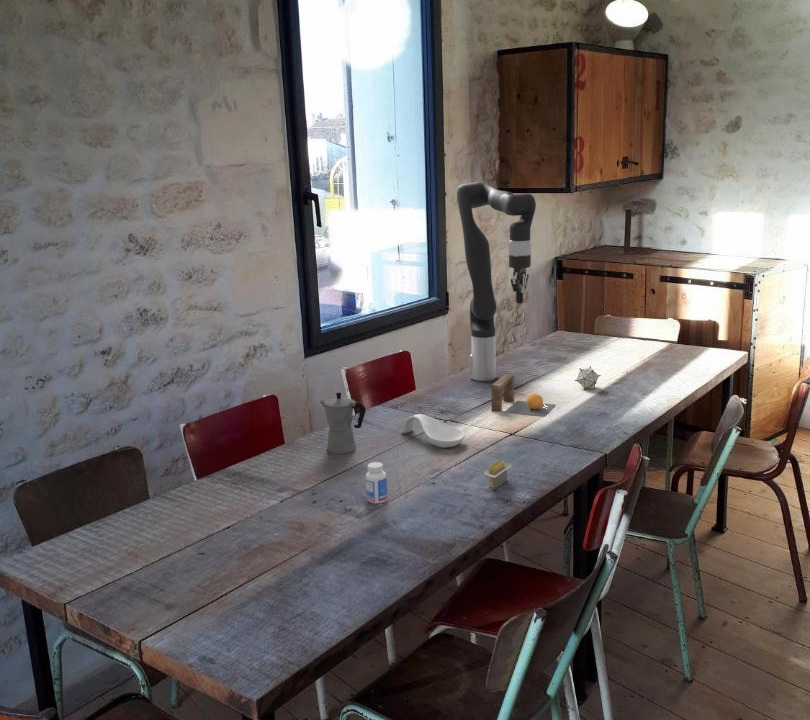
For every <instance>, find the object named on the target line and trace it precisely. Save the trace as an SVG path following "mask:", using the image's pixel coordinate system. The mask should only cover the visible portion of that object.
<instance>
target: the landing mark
mask: <svg viewBox="0 0 810 720" xmlns="http://www.w3.org/2000/svg"><path fill="white" fill-rule="evenodd" d="M543 403H544V402H543ZM544 404H545V405H546V406H548V407H545V406H544ZM544 404H543V405H542V407H541V408H539V409H537V410H533V409H531V408H529V407H528V405H527V400H519V399H517V400H516V401H515V402H514V403H513V404H511V405H510V406H509V407H508V408H507V409H505V411H504V413H506V414H507V413H508V414H516V415H517V414H518V415H523V416H524V415H526V416H533V415H535V416H534V417H542V416H544V417H545V416H546V415H548V414H549V412H550V411H552V409H553V408H555V407H556V405H557V404H554V403H546V402H545V403H544ZM543 407H545V408H543ZM546 408H547V409H546Z"/></svg>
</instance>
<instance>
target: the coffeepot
mask: <svg viewBox="0 0 810 720" xmlns="http://www.w3.org/2000/svg"><path fill="white" fill-rule="evenodd" d="M335 395H336V397H333V398H330V399H328V398H327V399H323V400H320V401H319V403H320V404H321V406H323V408H324V410H325V415H326V420H327V424H328V425H329V430H328V437H327V443H326V445H327V446H326V451H327V452H328V453H330V454H336V455H345V454H349V453H352V452H354V451H355V450H356V446H357V444H356V441H355V440H356V439H355V435H354V431H353V427H354V428H355V429H361V427H362V425H363V421H364V418H365V414H366V410H367V409H366V407H365V405H364V404H363V403H362V402H359V401H355V400H354V399H351V398H349V397H342V392H336V393H335ZM354 409H359V410H360V411H359V414H358V418H357V424H354V425H353V427H352V423H353V414H354Z"/></svg>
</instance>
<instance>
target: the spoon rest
mask: <svg viewBox="0 0 810 720" xmlns="http://www.w3.org/2000/svg"><path fill="white" fill-rule="evenodd" d="M414 420H418V422H419V423H420V425H421V428H422V430H423V431H422V432H423V433H424V435H425V437H426V439H427V440H428V441H429V442H430V444H432V445H434V446H435V447H437V448H442V449H443V448H452V447H456V446H457V445H459V444H460V443H461V442H462V441H463V440H464V439H465V433H464V432H463V431H462V430H461V429H459V428H456V427H455V426H452V425H449V424H447V423H444V422H442V421H441V420H437V419H435V418H433V417H431V416H428V415H426V414H423V413H418V414H414V415H411V416H408V417H406V418H405V419H404V421H403V423H402V425H401V429H400V433H401V434H407V433H411V432H413V428H414V427H413V426H414V425H413V424H414Z"/></svg>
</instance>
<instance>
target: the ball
mask: <svg viewBox="0 0 810 720" xmlns="http://www.w3.org/2000/svg"><path fill="white" fill-rule="evenodd" d="M526 401H527V405H528V407H529V408H531V409H533V410H537V409H539V408H541V407H542V405H543V403H544V399H543V396H541V395H540V394H539V393H531V394H529V395H528V397H527V399H526Z"/></svg>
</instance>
